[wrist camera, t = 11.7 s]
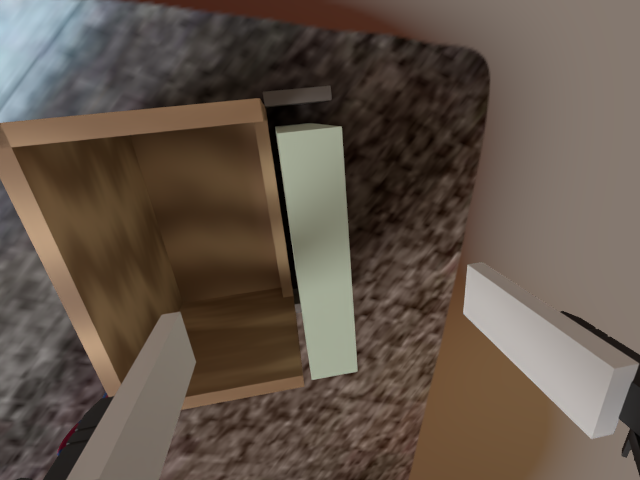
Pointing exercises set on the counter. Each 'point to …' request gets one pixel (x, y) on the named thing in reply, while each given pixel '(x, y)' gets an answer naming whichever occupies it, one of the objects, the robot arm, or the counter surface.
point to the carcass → (166, 236)
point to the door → (320, 242)
